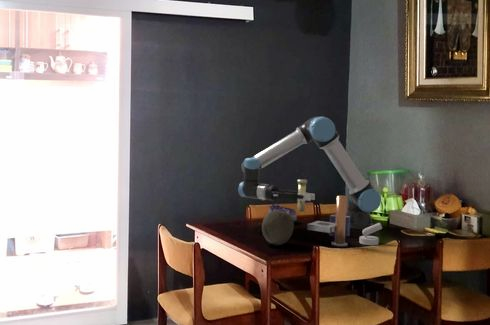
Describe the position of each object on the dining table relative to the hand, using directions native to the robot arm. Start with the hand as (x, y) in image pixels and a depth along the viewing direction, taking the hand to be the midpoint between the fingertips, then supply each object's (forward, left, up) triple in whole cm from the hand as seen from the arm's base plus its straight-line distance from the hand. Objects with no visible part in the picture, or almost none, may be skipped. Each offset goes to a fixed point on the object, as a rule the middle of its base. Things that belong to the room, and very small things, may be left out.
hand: (312, 197), depth 273 cm
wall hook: (-26, +7, -20) cm, 34 cm away
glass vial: (+4, -4, -7) cm, 9 cm away
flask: (-16, -9, -20) cm, 28 cm away
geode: (+5, -47, -20) cm, 51 cm away
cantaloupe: (+18, +10, -20) cm, 28 cm away
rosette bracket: (-7, +8, -20) cm, 22 cm away
